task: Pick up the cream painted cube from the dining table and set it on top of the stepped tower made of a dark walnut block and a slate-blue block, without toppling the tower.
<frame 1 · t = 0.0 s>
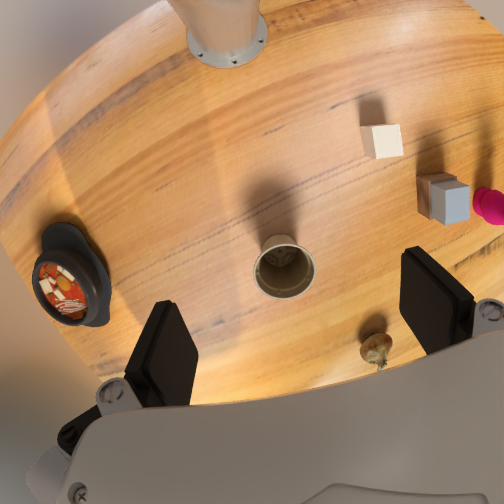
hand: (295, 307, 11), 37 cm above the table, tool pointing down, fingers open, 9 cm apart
walnut block: (430, 191, 45), on the table, touching slate block
cream block: (375, 139, 42), on the table
onion: (372, 338, 60), on the table
pepper mill: (481, 200, 46), on the table
flower pot: (279, 249, 50), on the table
slate block: (443, 198, 41), point 4 cm above the table, touching walnut block
casserole: (78, 274, 53), on the table
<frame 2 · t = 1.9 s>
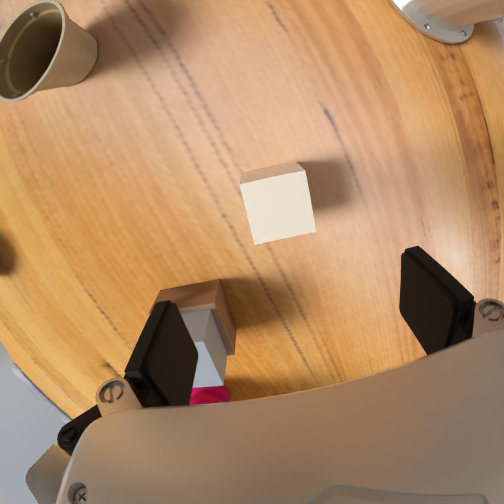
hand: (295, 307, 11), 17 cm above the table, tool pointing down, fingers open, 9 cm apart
walnut block: (199, 309, 32), on the table, touching slate block
cream block: (274, 193, 26), on the table
pepper mill: (208, 390, 39), on the table
flower pot: (76, 59, 20), on the table
slate block: (191, 336, 28), point 4 cm above the table, touching walnut block
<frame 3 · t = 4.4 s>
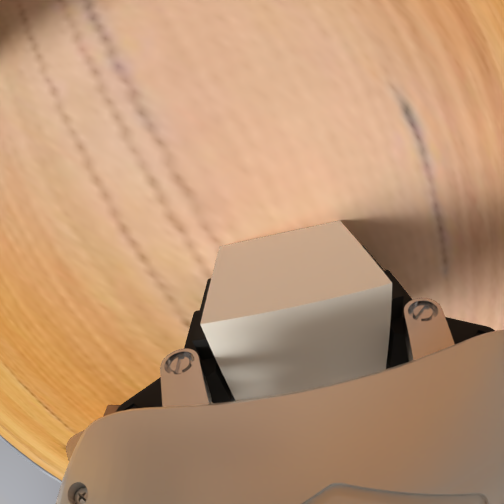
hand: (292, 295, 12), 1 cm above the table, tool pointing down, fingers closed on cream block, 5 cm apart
cream block: (290, 285, 12), on the table, touching gripper
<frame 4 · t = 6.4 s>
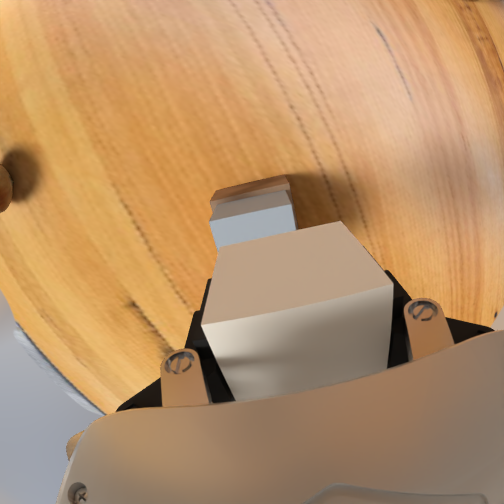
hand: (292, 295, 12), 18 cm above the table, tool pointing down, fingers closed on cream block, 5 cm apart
walnut block: (257, 214, 30), on the table, touching slate block
cream block: (291, 286, 12), point 18 cm above the table, touching gripper
onion: (7, 182, 27), on the table
slate block: (258, 229, 25), point 4 cm above the table, touching walnut block
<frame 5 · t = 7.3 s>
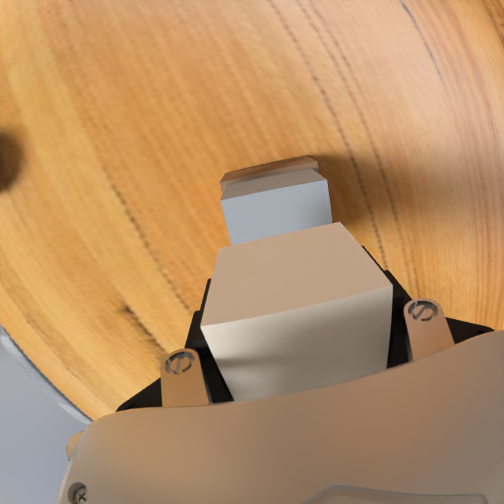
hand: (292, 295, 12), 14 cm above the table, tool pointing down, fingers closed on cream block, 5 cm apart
walnut block: (274, 201, 25), on the table, touching slate block
cream block: (290, 287, 12), point 14 cm above the table, touching gripper
slate block: (277, 215, 21), point 4 cm above the table, touching walnut block
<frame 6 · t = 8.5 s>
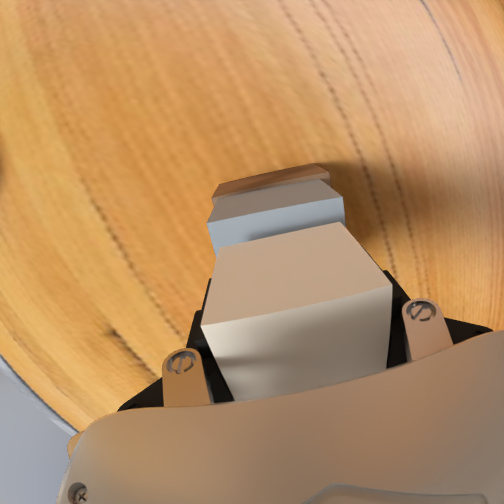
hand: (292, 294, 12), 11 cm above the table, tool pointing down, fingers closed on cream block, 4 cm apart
walnut block: (276, 217, 22), on the table, touching slate block
cream block: (290, 286, 12), point 10 cm above the table, touching gripper
slate block: (278, 235, 17), point 4 cm above the table, touching walnut block
when the fingers open (11 cm above the table, at t = 8.7 s): cream block drops 1 cm, point 9 cm above the table.
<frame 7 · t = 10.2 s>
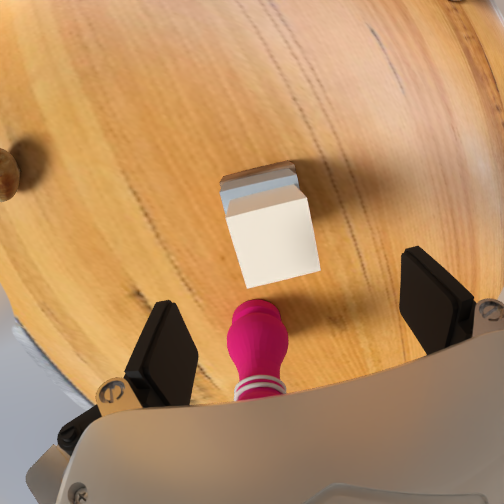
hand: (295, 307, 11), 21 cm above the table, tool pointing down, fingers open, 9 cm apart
walnut block: (263, 198, 31), on the table, touching slate block
cream block: (269, 221, 22), point 9 cm above the table
onion: (13, 171, 28), on the table
pepper mill: (256, 318, 37), on the table
slate block: (263, 206, 27), point 4 cm above the table, touching walnut block
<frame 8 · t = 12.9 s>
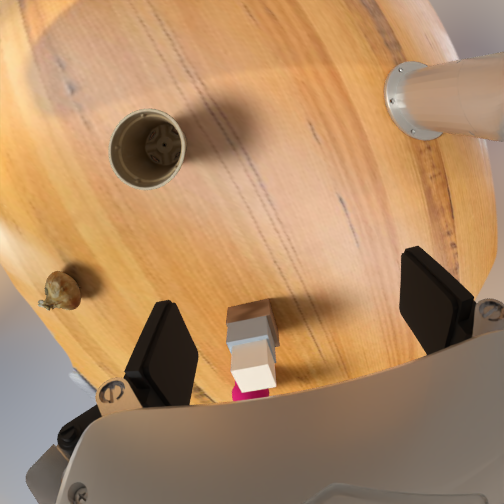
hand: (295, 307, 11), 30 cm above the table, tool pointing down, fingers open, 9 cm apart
walnut block: (253, 318, 49), on the table, touching slate block
cream block: (253, 354, 40), point 9 cm above the table, touching slate block
onion: (71, 282, 46), on the table
pepper mill: (250, 377, 55), on the table
flower pot: (166, 144, 37), on the table
slate block: (251, 333, 44), point 4 cm above the table, touching cream block, walnut block
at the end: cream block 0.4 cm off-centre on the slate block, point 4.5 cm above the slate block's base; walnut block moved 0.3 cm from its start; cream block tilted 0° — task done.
